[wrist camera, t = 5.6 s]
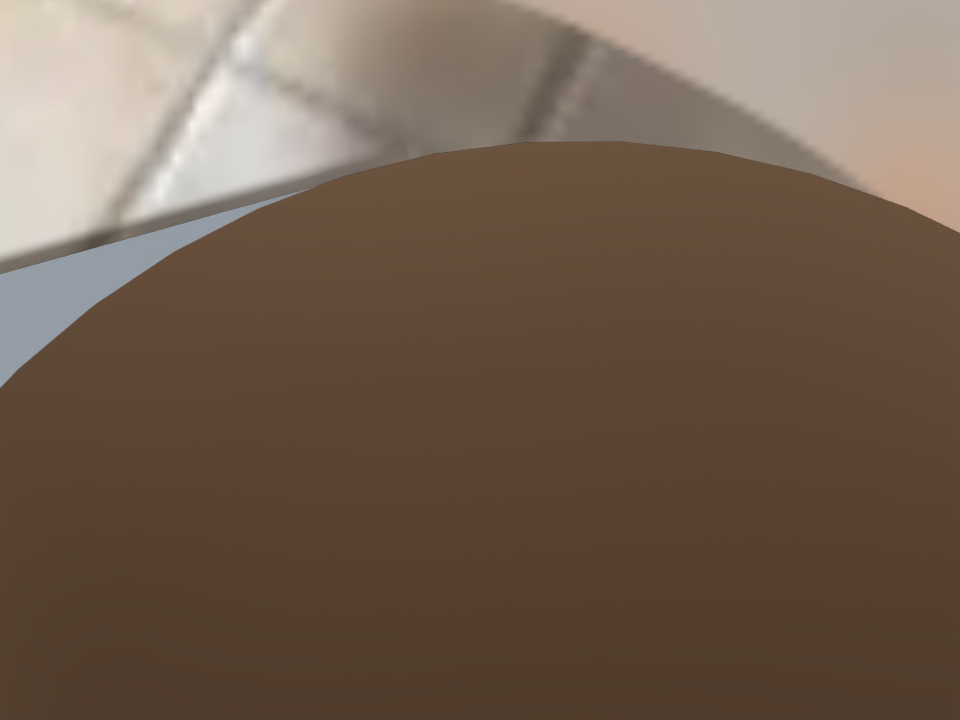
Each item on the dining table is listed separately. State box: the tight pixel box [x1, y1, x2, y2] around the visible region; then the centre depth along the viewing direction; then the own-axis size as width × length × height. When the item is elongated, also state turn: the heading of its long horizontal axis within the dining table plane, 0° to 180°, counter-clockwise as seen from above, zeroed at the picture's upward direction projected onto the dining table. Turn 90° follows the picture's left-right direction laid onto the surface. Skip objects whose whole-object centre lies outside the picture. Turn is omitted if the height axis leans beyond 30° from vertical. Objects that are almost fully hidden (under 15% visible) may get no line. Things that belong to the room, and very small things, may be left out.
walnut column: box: [0, 142, 960, 720], centre depth 9 cm, size 5×5×13 cm
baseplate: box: [0, 186, 317, 388], centre depth 21 cm, size 18×14×2 cm
